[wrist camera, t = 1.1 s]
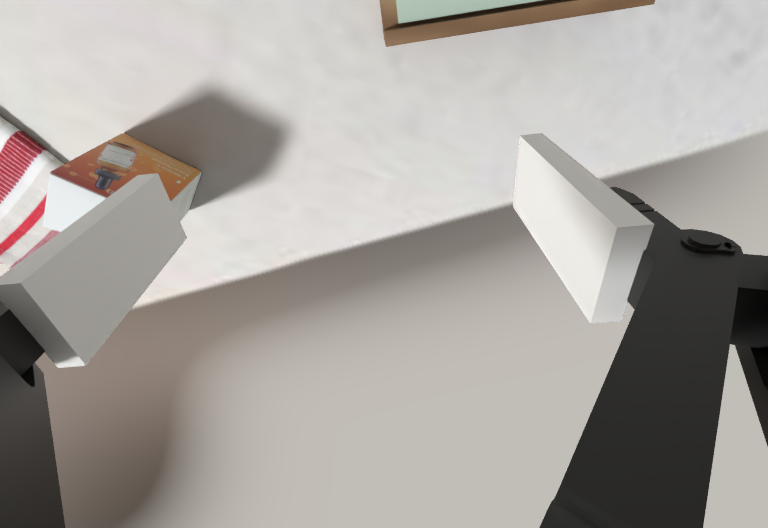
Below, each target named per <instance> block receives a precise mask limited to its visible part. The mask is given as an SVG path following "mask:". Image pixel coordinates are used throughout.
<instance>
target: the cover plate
mask: <svg viewBox="0 0 768 528" xmlns="http://www.w3.org/2000/svg"><path fill="white" fill-rule="evenodd" d="M536 1H542V0H396V5H397V15H398V23H399V24H400V23H406V22H412V21H418V20H425V19H431V18H437V17H443V16H449V15H455V14H462V13H468V12H474V11H480V10H486V9H492V8H499V7H505V6H511V5H517V4H523V3H529V2H536Z"/></svg>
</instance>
